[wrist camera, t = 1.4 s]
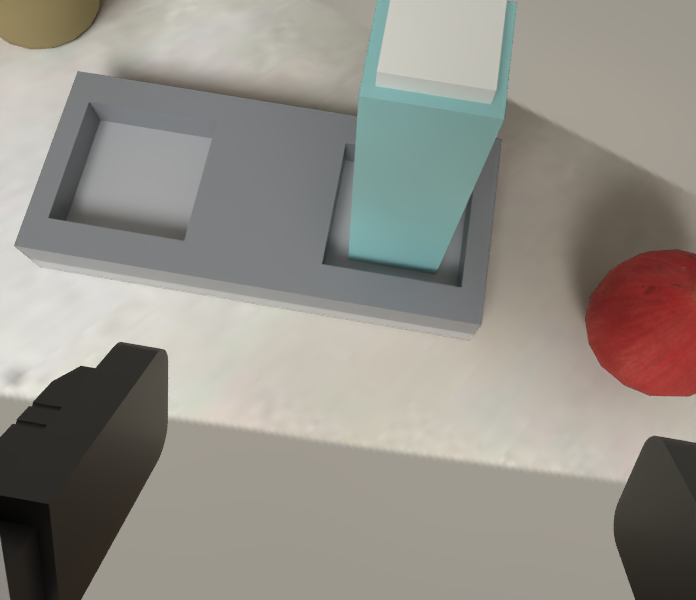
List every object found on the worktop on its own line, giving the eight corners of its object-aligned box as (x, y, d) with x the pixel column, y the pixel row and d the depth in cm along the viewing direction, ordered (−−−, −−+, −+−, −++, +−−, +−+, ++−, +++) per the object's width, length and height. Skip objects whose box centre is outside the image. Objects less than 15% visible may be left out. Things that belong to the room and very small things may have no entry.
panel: (39, 267, 29) (13, 245, 27) (96, 103, 32) (77, 71, 30) (469, 340, 29) (481, 325, 26) (489, 167, 31) (501, 139, 29)
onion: (610, 261, 30) (704, 178, 22) (712, 342, 29) (848, 283, 21) (534, 348, 29) (608, 290, 21) (639, 437, 28) (756, 410, 20)
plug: (348, 259, 29) (359, 81, 17) (365, 167, 30) (386, -57, 18) (435, 274, 29) (510, 105, 17) (448, 180, 30) (524, -36, 18)
